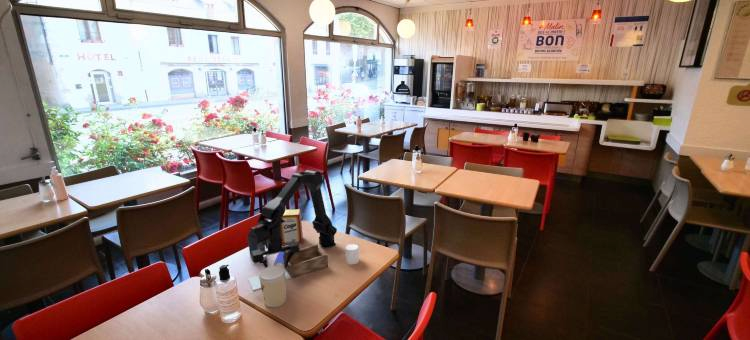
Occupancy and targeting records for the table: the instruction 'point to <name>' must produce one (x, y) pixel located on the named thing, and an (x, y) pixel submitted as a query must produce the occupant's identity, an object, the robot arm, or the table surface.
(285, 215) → the baking soda box
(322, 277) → the table surface
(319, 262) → the wooden box
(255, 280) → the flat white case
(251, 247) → the soda can
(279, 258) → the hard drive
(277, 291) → the coffee cup
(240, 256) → the table surface
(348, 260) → the shot glass
